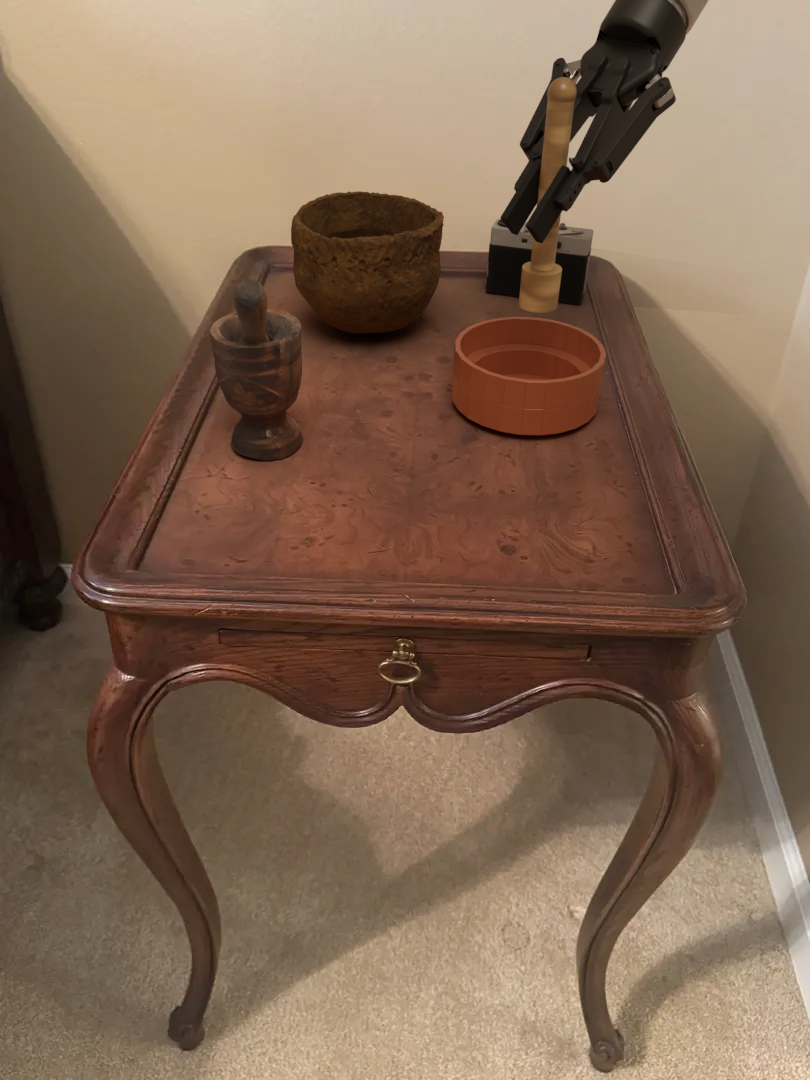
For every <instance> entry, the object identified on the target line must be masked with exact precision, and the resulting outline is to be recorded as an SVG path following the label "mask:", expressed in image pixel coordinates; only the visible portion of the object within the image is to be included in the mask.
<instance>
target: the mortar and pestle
mask: <svg viewBox="0 0 810 1080" xmlns="http://www.w3.org/2000/svg"><path fill="white" fill-rule="evenodd" d="M233 303H234V308H235V311H234V312H231V313H229V314H227V315H224V316H222V317H220V318H218V319H217V320H216V321H215V322H213V324H212V326H211V327H210V328H209V338H210V343H211V350H212V356H213V359H214V370H215V374H216V377H217V382H218V383H219V388H220V390H221V391H222V394H223V396H224V399H225V401H226V403H227V404H228V405H229V406H230V407H231V408H232V409H234V411H237V412H238V413H239V414H240V415H241V418H240V419H239V421H238V422H237V423H236V425H235V426H234V428H233V432H232V434H231V439H230V440H231V441H230V446H231V448H232V450H233V451H234V452H235V453H236V454H238V455H240V456H242V457H245V458H248V459H249V458H250V459H254V460H260V461H263V462H264V461H265V462H266V461H274V460H281V459H285V458H287V457H289V456H291V455H293V454H294V453H295V452H296V451H298V449H299V448H300V447H302V444H303V433H302V430H301V428H300V426H299V425H298V423H297V422H296V421H295V419H293V417H291V416H290V415H288V414H287V410H289V409H290V408H291V407H292V406H293V405H294V404H295V403H296V401H297V399H298V396H299V391H300V388H301V383H302V375H303V353H302V347H303V346H302V324H301V321H300V320H299V319H298V318H297V317H296V316H294V314H291V313H289V312H288V311H286V310H284V309H277V308H276V309H275V308H274V309H273V308H268V296H267V291H266V289H265V287H264V286H263V284H261V283H260V281H257V280H255V279H251V278H249V279H245V280H241V281H240V282H238V284H237V285H236V286H235V290H234V295H233Z"/></svg>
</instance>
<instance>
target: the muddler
mask: <svg viewBox="0 0 810 1080" xmlns="http://www.w3.org/2000/svg"><path fill="white" fill-rule="evenodd" d="M576 95H577V89H576V86H575V84H574V82H573V81H572V80H571V79H569V78H567V77H560V78H557V79H555V80H554V81H553V82H552V83H551V84H550V86H549V88H548V93H547V96H548V103H547V113H546V122H545V132H544V141H543V151H542V160H541V170H540V179H539V189H538V198H537V204H536V207H537V206H538V204H539V202H540V201H541V199H542V197H543V196H544V194H545V193H546V191H547V189H548V188H549V186H550V184H551V183H552V181H553V179H554V178H555V176H556V175H557V173H558V171H559V170H560V168H561V166H566V167H568V160H569V150H570V143H571V142H570V135H571V127H572V119H573V110H574V102H575V99H576ZM561 216H562V213H561V214H560V215H559V217H558V219H557V220H556V222H555V223H554V225H553V227H552V228H551V230H550V232H549V233H548V235H547V236H546V238H545V240H544V241H543V243H539V242H536V241H535V239H534V238H533V246H532V255H531V261H530V262H527V263H525V264H523V266H522V275H521V285H520V295H519V297H518V307H519V308H521V309H522V310H524V311H527V312H529V313H536V314H546V313H551V312H554V311H556V310H557V309H558V304H559V302H558V297H559V290H560V282H561V274H562V268H561V266H560V265H558V264H556V263H555V257H556V249H557V241H558V233H559V226H560V224H561Z"/></svg>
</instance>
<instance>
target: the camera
mask: <svg viewBox="0 0 810 1080" xmlns="http://www.w3.org/2000/svg"><path fill="white" fill-rule="evenodd" d="M527 222H528V221H526V222H525V224H524V225H523V227H522V229H521V230H520V232H519V233H518V235H515V234H512V233H511V232H510V230H509V229H508V228H507V226H506V225H505V224H504V222H503V221H502V219H501V218H496V220H495V221H494V223H493V225H492V226H491V227H490V228H491V229H490V241H489V245H488V255H487V257H488V259H487V265H486V274H485V275H486V283H485V293H486V294H492V295H499V296H506V297H514V298H519V295H520V285H521V275H522V266H523V264H525V263H527V262H530V261H531V255H532V246H533V236H532V235H531V234H530V232H529V231H528V229H527V228H526V226H525V225H526V224H527ZM593 237H594V230H593V229H591V228H585V227H575V226H567V225H566V223H564V222H560V225H559V233H558V241H557V249H556V257H555V263H556V264H558V265H560V266H561V268H562V274H561V282H560V290H559V297H558V304H559V303H560V304H567V305H574V306H581V305H582V303H583V300H584V297H585V293H586V287H587V286H586V285H587V279H588V273H589V267H590V261H591V260H590V259H591V251H592V244H593Z"/></svg>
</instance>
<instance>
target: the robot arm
mask: <svg viewBox="0 0 810 1080" xmlns="http://www.w3.org/2000/svg"><path fill="white" fill-rule="evenodd" d="M709 1H710V0H614V2H613V4H612V5H611V6H610V8H609V10H608V12H607V13H606V15H605V17H604V18H603V19H602V22H601V23H600V25H599V29H598V32H597V33H598V34H597V37H596V40H595V43H594V44H593V45H592V46H590V48H589V49H588V50H586V51H585V52H584V54H582V56H581V58H580V59H578V60H575V61H570V62H567V61H566V60H565V58H564V57H559V58H557V59H555V61H554V62H553V64H552V70H551V77H550V80H549V83H548V85H547V86H546V89H545V91H544V93H543V95H542V96H541V99H540V101H539V103H538V105H537V108H536V109H535V111H534V113H533V115H532V117H531V118H530V120H529V121H530V122H529V123H528V125H527V127H526V129H525V131H524V134H523V136H522V137H521V138H520V141H519V147H520V148H521V150H522V152H523V154H524V155H525V156H526V158H527V160H528V161H527V163H526V165H525V167H524V169H523V170H522V171H521V173H520V175H519V177H518V179H517V180H516V182H515V183H514V187H513V189H514V191H515V192H514V194H513V196H512V198H511V199H510V201H509V202H508V204H507V206H506V207H505V209H504V210H503V212H502V214H501V216H500V217H499V219H502V221H503V222H504V224H505V225H506V226H507V228H508V229H509V230H510V232H511V233H512V234H515V235H518V233H519V232H520V230H521V229H522V227H523V225H524V224H525V222H527V224H526V225H525V226H526V228H527V229H528V231H529V232H530V234H531V235H532V236H533V238H534V239H535V241H536V242H539V243H543V241H544V240H545V238H546V236H547V235H548V233H549V232H550V230H551V228H552V227H553V225H554V223H555V222H556V220H557V219H558V217H559V215H560V214H561V215H562V213H563V212H568V211H569V210H570V209H571V208H572V207H573V206H574V204H575V202H576V200H577V199H578V197H579V196H580V194H581V193H582V191H583V189H584V188H585V186H586V185H588V184H589V183H591V182H593V181H599V182H600V183H602V184H605V183H608V182H609V181H610V180H611V179H612V178H613V177H614V175H615V174H616V173H617V171H618V170H619V168H620V167H621V166H622V164H623V163H624V162H625V160H626V159H627V158H628V157H629V155H630V154H631V153H632V151H633V150H634V149H635V148H636V146H637V145H638V143H639V142H640V141H641V139H643V137H644V135H645V134H646V133H647V131H648V130H649V128H650V127H651V126H652V124H654V122H655V121H656V120H657V118H658V117H660V115H662V114H663V113H665V112H666V111H667V110H668V109H669V108H670V107H671V106H673V105H674V104H675V103H676V101H677V98H676V95H675V91H674V89H673V86H672V84H671V81H670V78H669V77H667V76H663V73H664V72H665V71H666V70H668V69H669V67H670V65H671V63H672V62H673V60H674V58H675V57H676V55H677V53H678V52H679V50H680V48H681V47H682V45H683V44H684V42H685V40H686V36H687V35H688V34H689V33H690V31H691V30H692V29H693V27H694V26H695V23H696V22H697V21H698V18H699V17H700V15H701V14H702V12H703V11H704V9H705V7H706V6H707V4H708V2H709ZM560 77H567V78H569V79H571V80H572V81H573V82H574V84H575V86H576V89H577V95H576V99H575V102H574V110H573V119H572V127H571V135H570V143H571V142H572V141H573V139H574V138H575V137H576V135H577V134H578V133H579V132H580V130H581V129H582V127H583V126H584V124H585V123H587V121H588V119H589V118H593V119H592V121H591V123H590V125H589V127H588V128H587V131H586V133H585V136H584V138H583V139H582V141H581V144H580V146H579V148H578V149H577V152H576V154H575V155H574V157H569V156H568V162H569V164H570V166H571V169H570V167H569V166H567V167H566V166H561V168H560V170H559V171H558V173H557V175H556V176H555V178H554V179H553V181H552V183H551V184H550V186H549V188H548V189H547V191H546V193H545V194H544V196H543V197H542V199H541V201H540V202H539V204H538V206H537V198H538V189H539V179H540V170H541V160H542V151H543V141H544V132H545V122H546V113H547V103H548V96H547V93H548V88H549V86H550V84H551V83H552V82H553V81H554V80H555V79H557V78H560ZM633 102H634V103H633Z"/></svg>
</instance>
